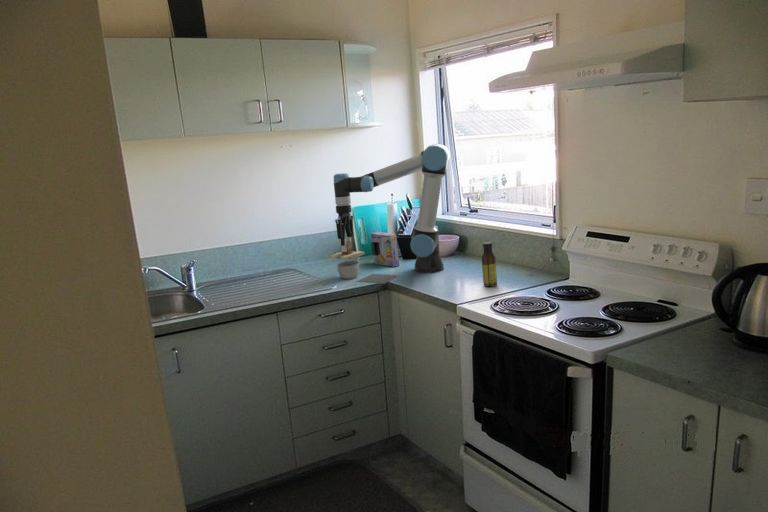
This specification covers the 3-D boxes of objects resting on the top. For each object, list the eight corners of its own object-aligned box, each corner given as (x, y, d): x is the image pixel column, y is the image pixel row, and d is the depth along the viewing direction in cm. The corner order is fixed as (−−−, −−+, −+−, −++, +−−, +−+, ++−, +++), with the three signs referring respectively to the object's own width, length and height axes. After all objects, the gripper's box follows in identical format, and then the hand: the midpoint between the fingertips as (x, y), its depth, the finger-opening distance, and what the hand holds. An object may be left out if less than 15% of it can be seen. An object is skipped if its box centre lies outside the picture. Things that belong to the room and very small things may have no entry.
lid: (364, 253, 295) (363, 240, 294) (351, 259, 284) (350, 245, 283) (343, 252, 301) (342, 239, 300) (329, 257, 290) (328, 244, 289)
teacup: (359, 280, 288) (357, 264, 286) (337, 281, 288) (336, 266, 287) (360, 273, 302) (359, 258, 300) (340, 274, 302) (338, 259, 300)
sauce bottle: (498, 283, 263) (496, 241, 259) (496, 287, 257) (494, 244, 253) (483, 283, 265) (482, 241, 261) (481, 287, 259) (480, 244, 255)
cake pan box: (371, 262, 324) (369, 232, 321) (379, 261, 327) (376, 230, 324) (392, 267, 309) (390, 235, 305) (400, 266, 312) (397, 233, 308)
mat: (399, 276, 290) (399, 275, 290) (384, 284, 276) (384, 283, 276) (372, 274, 298) (372, 273, 297) (356, 282, 284) (356, 281, 284)
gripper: (345, 202, 296) (349, 246, 301) (327, 207, 282) (331, 253, 287) (358, 202, 293) (361, 247, 298) (340, 207, 278) (344, 254, 283)
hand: (346, 250), depth 292 cm, fingers closed on lid, 4 cm apart
